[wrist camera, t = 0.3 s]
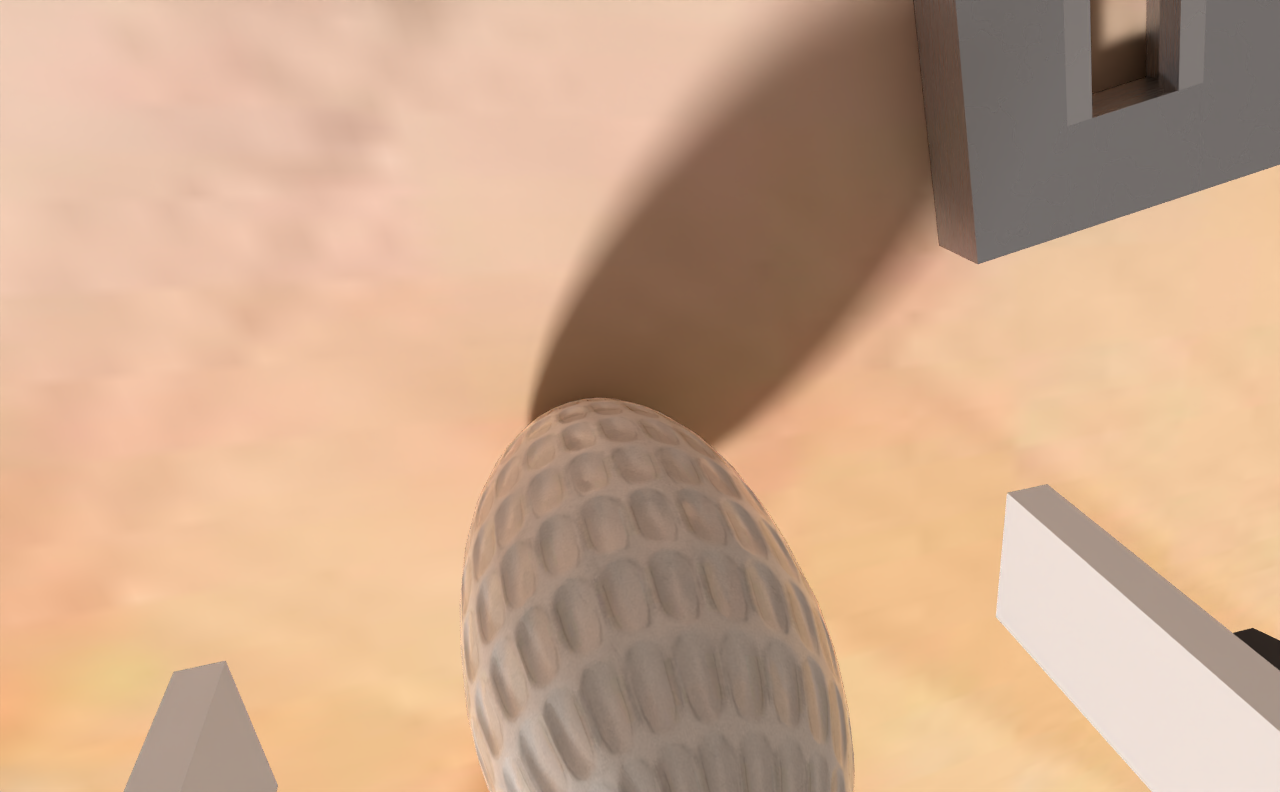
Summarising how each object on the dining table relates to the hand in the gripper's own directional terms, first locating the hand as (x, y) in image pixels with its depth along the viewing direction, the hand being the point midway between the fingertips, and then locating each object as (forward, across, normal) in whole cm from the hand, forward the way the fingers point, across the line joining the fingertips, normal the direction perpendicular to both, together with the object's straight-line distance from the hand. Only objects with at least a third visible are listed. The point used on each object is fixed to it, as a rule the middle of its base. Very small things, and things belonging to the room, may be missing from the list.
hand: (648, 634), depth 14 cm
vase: (+27, +1, -11) cm, 30 cm away
